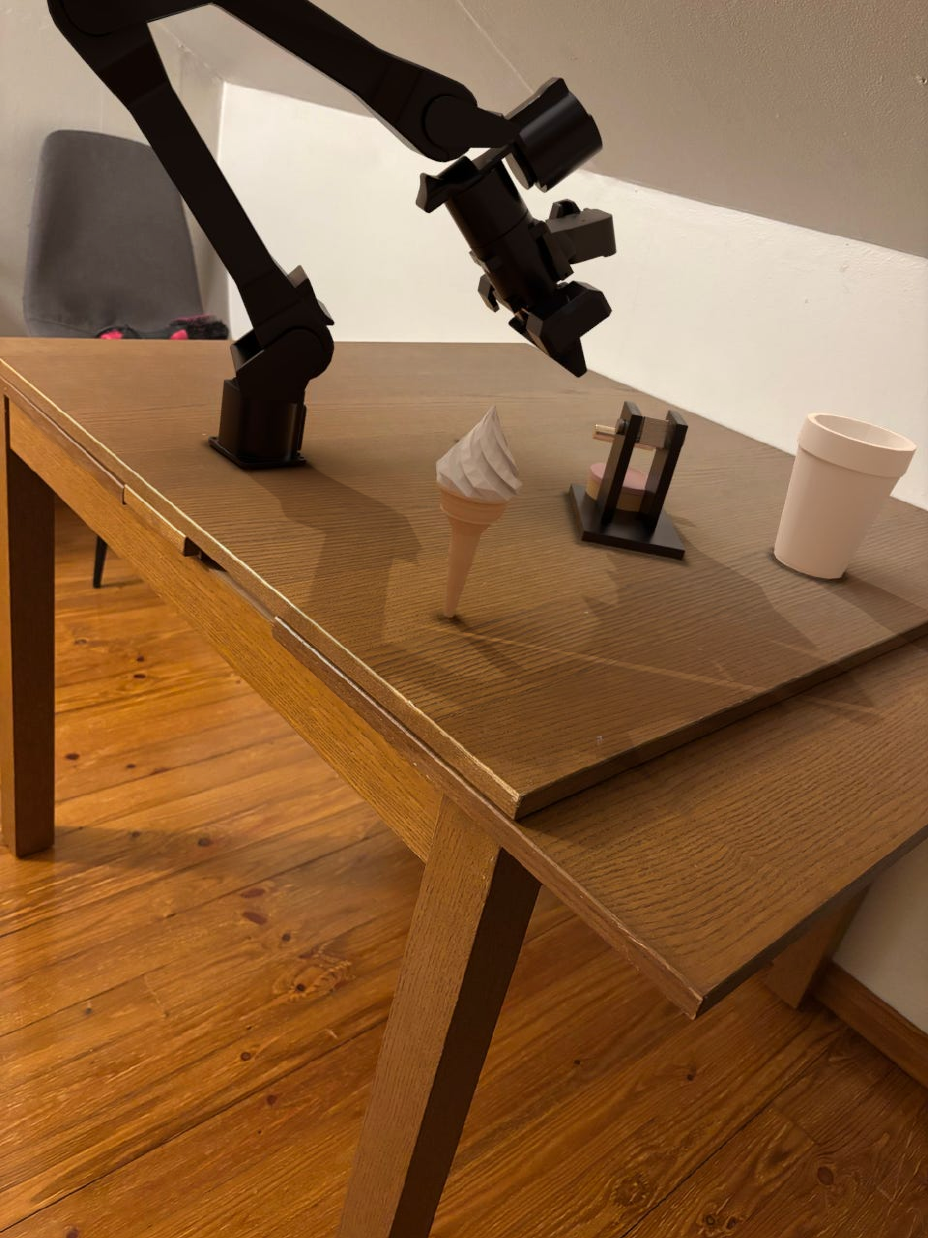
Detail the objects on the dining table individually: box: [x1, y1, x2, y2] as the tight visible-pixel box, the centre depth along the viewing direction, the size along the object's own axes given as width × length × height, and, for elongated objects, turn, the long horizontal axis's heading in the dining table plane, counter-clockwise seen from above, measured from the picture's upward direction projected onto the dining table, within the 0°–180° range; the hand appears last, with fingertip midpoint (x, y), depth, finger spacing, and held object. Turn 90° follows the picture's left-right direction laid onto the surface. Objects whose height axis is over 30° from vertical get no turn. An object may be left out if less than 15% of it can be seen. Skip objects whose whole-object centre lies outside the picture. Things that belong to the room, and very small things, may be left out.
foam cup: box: [773, 412, 918, 580], centre depth 88 cm, size 10×9×13 cm
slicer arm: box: [592, 415, 669, 452], centre depth 90 cm, size 12×6×2 cm, turn 179°
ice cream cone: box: [435, 403, 523, 619], centre depth 63 cm, size 6×6×15 cm
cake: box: [585, 462, 649, 511], centre depth 93 cm, size 7×7×3 cm
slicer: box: [568, 400, 689, 561], centre depth 87 cm, size 12×9×11 cm
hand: (581, 373), depth 91 cm, fingers closed
